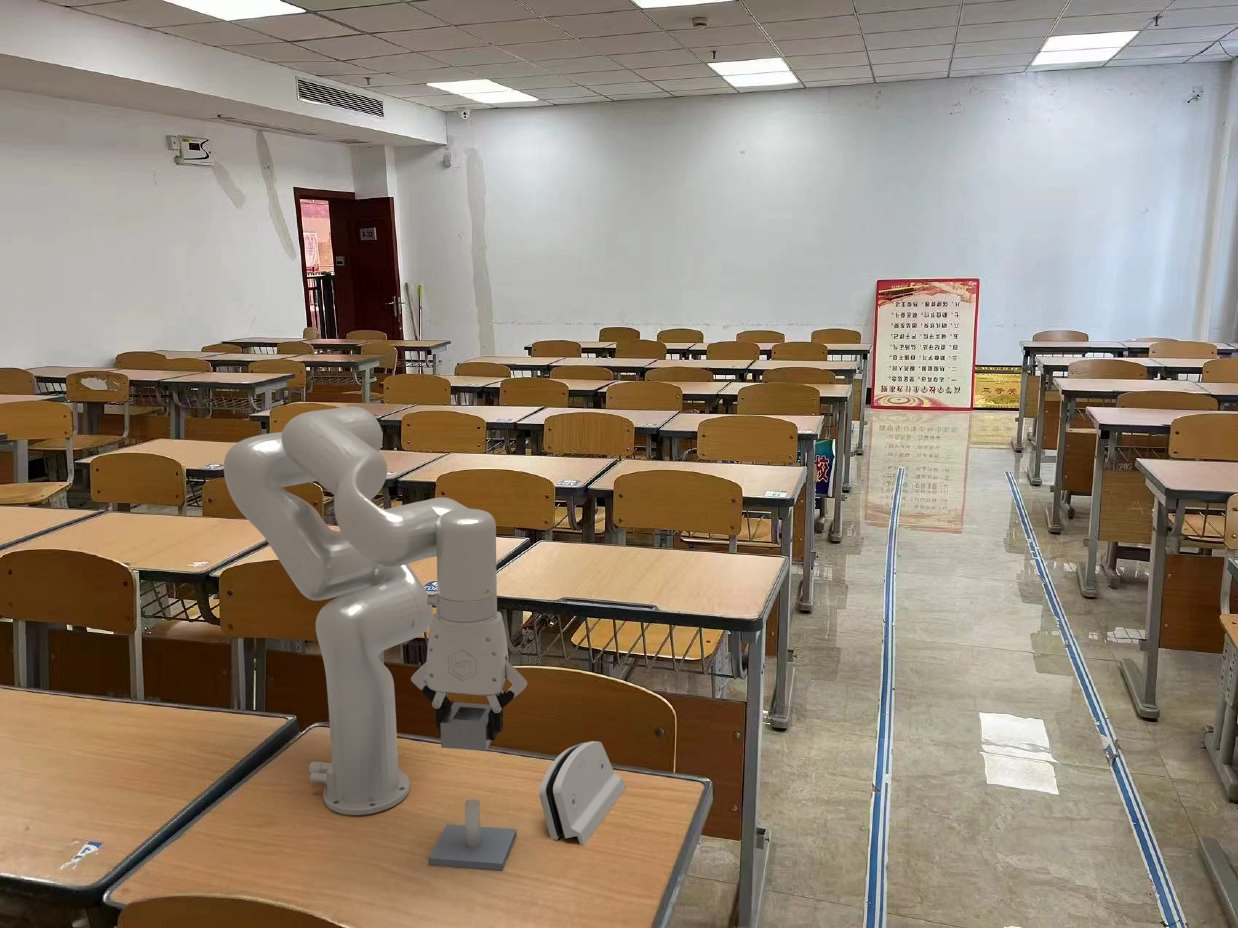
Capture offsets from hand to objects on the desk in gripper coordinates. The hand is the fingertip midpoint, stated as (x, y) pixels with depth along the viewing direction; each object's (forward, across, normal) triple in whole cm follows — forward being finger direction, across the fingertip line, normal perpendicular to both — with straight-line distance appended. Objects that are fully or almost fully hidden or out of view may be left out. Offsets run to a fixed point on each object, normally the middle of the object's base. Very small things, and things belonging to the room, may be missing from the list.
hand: (469, 732), depth 124 cm
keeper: (+17, 0, 0) cm, 17 cm away
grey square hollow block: (+1, 0, 0) cm, 1 cm away
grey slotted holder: (+17, +13, +11) cm, 25 cm away
